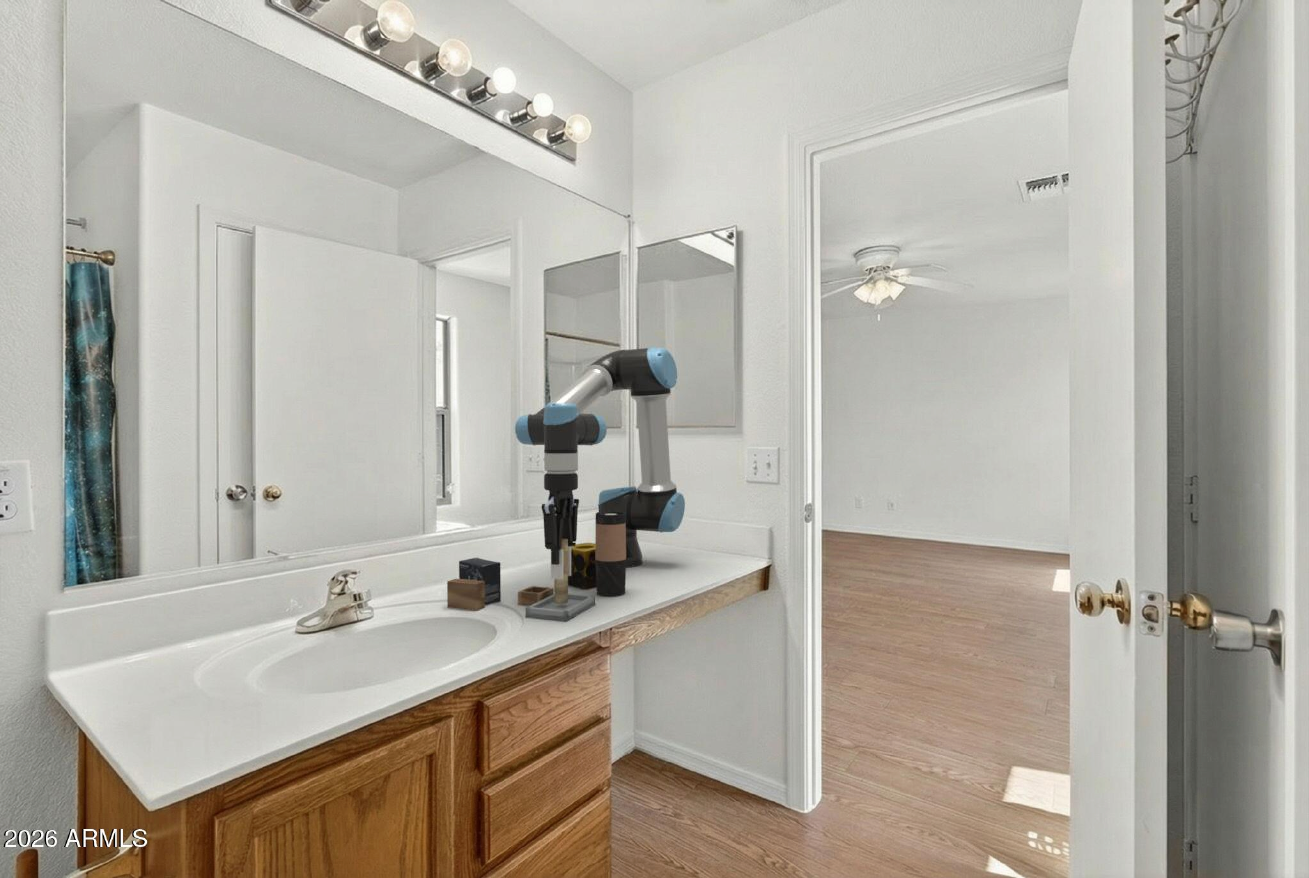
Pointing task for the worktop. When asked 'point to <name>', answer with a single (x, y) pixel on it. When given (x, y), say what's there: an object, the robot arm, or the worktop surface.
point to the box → (483, 576)
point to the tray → (560, 608)
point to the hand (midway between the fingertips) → (561, 576)
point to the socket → (533, 595)
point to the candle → (583, 566)
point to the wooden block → (466, 594)
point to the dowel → (562, 584)
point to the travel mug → (610, 553)
